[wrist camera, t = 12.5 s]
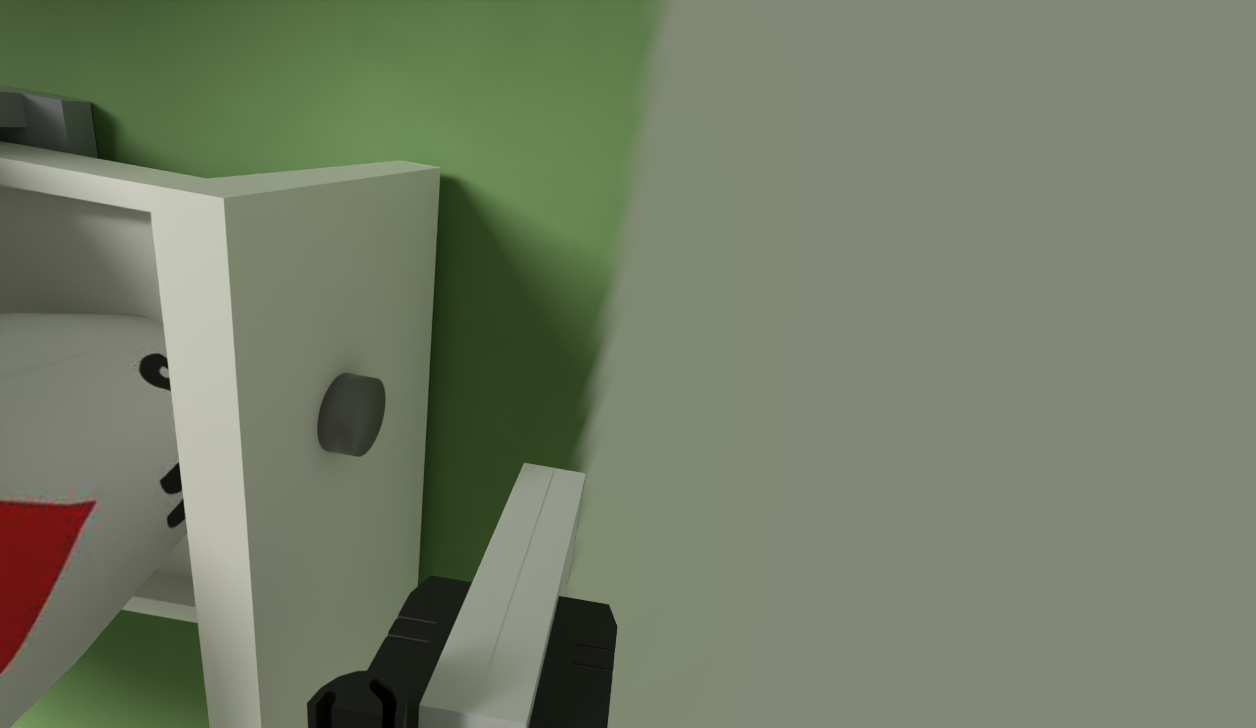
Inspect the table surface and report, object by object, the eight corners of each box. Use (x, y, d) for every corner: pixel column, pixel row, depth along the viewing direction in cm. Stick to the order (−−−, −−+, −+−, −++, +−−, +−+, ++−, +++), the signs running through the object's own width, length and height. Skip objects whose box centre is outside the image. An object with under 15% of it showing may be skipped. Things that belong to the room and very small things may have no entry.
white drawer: (14, 549, 21) (-357, 784, 13) (-103, 68, 15) (-840, 4, 8) (433, 624, 21) (300, 901, 13) (463, 171, 15) (268, 206, 8)
